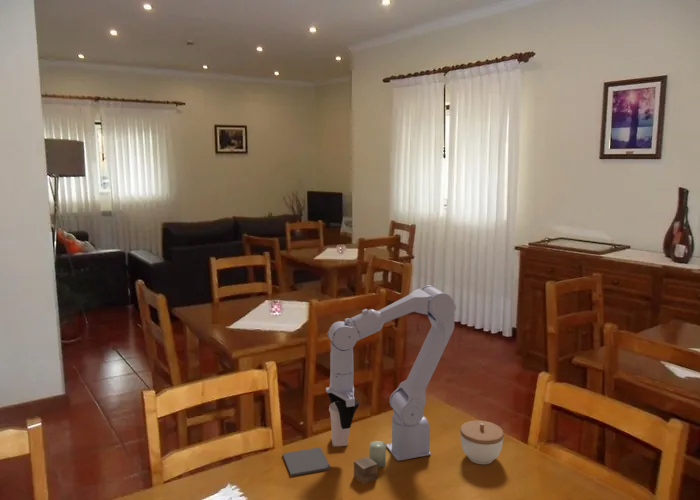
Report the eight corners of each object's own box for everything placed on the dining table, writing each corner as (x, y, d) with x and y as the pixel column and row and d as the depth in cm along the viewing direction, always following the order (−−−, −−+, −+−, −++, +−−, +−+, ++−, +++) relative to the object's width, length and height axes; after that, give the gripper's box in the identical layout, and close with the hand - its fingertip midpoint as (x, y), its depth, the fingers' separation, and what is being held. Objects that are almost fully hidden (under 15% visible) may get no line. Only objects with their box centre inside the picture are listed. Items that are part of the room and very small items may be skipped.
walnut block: (367, 471, 137) (367, 456, 137) (377, 479, 134) (377, 463, 133) (353, 476, 135) (353, 461, 135) (363, 484, 132) (363, 469, 131)
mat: (320, 449, 147) (320, 447, 147) (330, 469, 138) (330, 467, 138) (282, 455, 144) (282, 453, 144) (290, 476, 135) (290, 474, 135)
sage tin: (381, 457, 143) (382, 439, 142) (387, 466, 140) (388, 447, 139) (367, 460, 142) (367, 442, 141) (372, 468, 138) (372, 450, 137)
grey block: (345, 438, 153) (345, 424, 153) (347, 445, 149) (347, 431, 149) (331, 439, 153) (331, 425, 152) (333, 446, 149) (332, 432, 148)
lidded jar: (487, 444, 150) (489, 411, 148) (510, 465, 140) (512, 430, 138) (451, 451, 147) (453, 417, 145) (472, 472, 137) (474, 437, 135)
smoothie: (350, 450, 138) (353, 397, 135) (324, 446, 139) (327, 394, 136) (354, 437, 144) (357, 386, 142) (329, 434, 145) (332, 383, 143)
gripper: (318, 361, 144) (318, 411, 146) (334, 383, 130) (334, 437, 132) (344, 358, 146) (344, 407, 148) (363, 379, 132) (362, 433, 135)
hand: (341, 421), depth 140 cm, fingers closed on smoothie, 6 cm apart
